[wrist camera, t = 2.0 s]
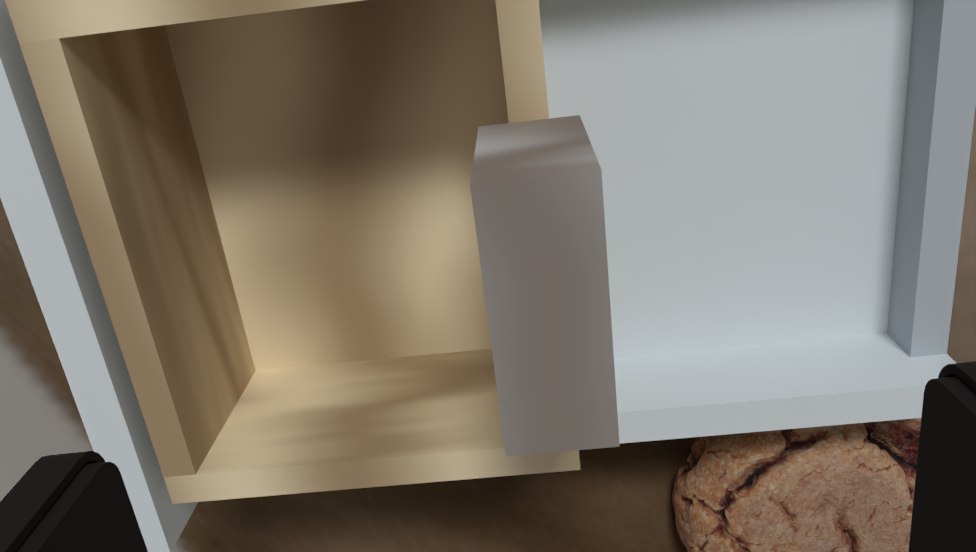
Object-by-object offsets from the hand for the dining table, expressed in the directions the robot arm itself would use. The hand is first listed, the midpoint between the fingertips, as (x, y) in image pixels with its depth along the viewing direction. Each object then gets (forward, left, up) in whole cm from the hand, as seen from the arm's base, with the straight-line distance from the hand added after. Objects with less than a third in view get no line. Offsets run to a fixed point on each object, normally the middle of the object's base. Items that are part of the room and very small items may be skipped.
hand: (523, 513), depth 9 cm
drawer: (+4, 0, -14) cm, 15 cm away
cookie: (-9, +13, -16) cm, 22 cm away
